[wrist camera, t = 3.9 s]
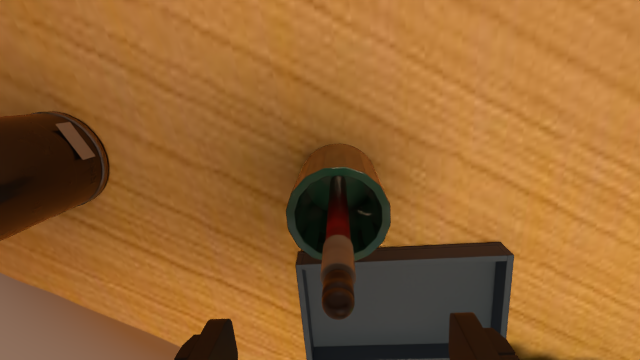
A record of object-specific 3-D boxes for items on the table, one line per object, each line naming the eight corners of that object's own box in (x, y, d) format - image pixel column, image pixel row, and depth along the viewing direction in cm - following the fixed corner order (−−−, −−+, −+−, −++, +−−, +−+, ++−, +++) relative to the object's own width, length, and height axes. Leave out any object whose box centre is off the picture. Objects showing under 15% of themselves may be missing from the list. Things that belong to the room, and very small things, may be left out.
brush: (329, 192, 30) (319, 330, 13) (328, 174, 30) (315, 295, 13) (347, 191, 30) (360, 329, 13) (346, 173, 30) (358, 294, 13)
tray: (309, 346, 37) (307, 366, 34) (298, 251, 33) (295, 265, 31) (492, 342, 35) (504, 361, 33) (500, 241, 32) (514, 255, 29)
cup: (304, 217, 32) (292, 265, 23) (297, 146, 30) (280, 171, 21) (377, 213, 32) (391, 261, 23) (374, 140, 30) (389, 163, 21)
